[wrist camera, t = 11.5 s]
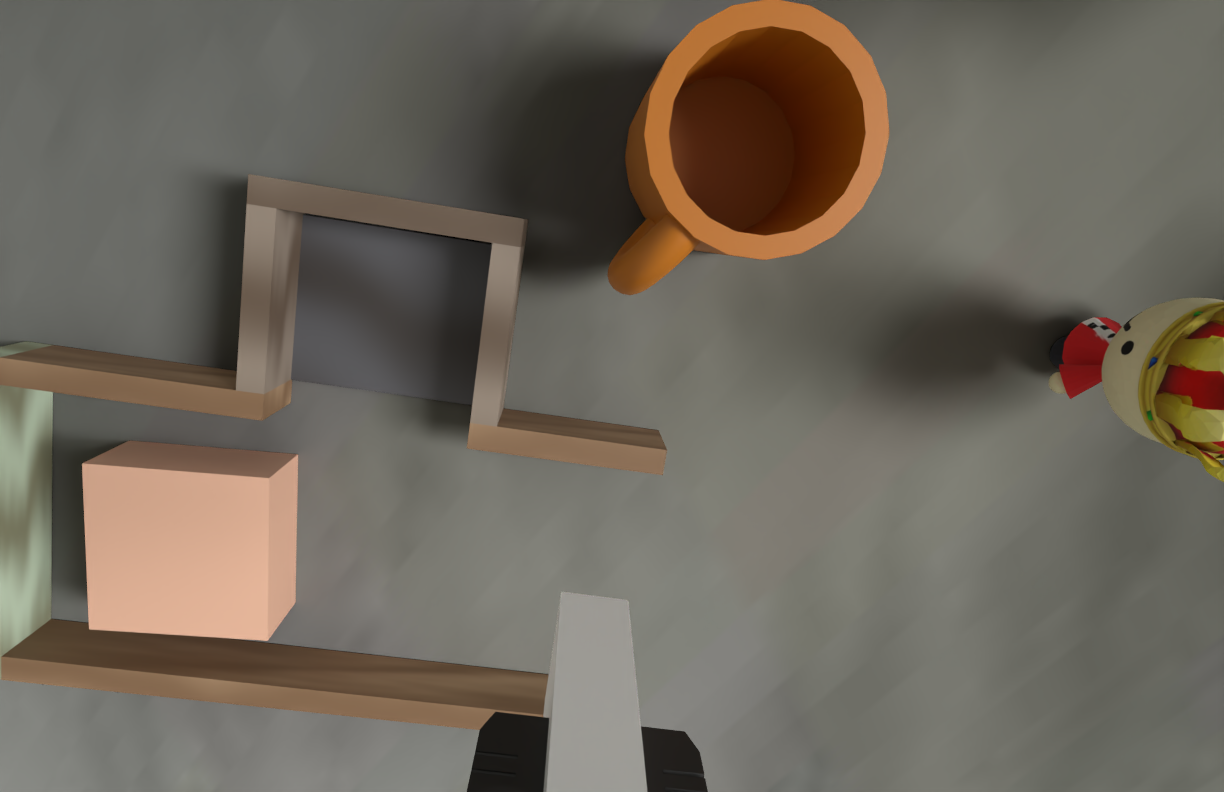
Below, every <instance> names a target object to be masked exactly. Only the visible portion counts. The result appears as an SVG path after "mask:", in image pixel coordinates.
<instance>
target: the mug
mask: <svg viewBox="0 0 1224 792" xmlns="http://www.w3.org/2000/svg"><path fill="white" fill-rule="evenodd" d="M888 138H889V123H888V111H887V100H886V92H885V89H884V87H883V85H882V82H881V80H880V77H879V75H878V72H877V70H876V67H875V65H874V63H873V60H872V58H871V56H870V54H869V53H868V52H867V51H866V50H865V49H864V47H863V46H862V45H861V44H860V43H859V42H858V40H857V39H856V38H855V37H854V36H853V35H852V33H851V32H850V31H849V30H848V29H847V28H846V26H845V25H843V24H841V23H840V22H838V21H836V20H834V19H833V18H831V17H829V16H827V15H826V14H824V13H822V12H821V11H819V10H817V9H815V8H814V7H812V6H809V5H803V4H798V3H792V2H787V1H781V0H762V1H756V2H750V3H744V4H738V5H732V6H730V7H729V8H727V9H725V10H723V11H721V12H720V13H718V14H716V15H714V16H712V17H710V18H709V19H707V20H705V21H703V22H701V23H699V24H698V25H696V26H695V27H694V28H693V29H692V31H691V32H690V33H689V34H688V35H687V36H686V37H685V38H684V39H683V40H682V41H681V42H680V43H679V44H678V46H677V47H676V48H675V49H674V50H673V51H672V52H671V53H670V54H669V55H668V57H667V58H666V60H665V62H664V64H663V65H662V67H661V69H660V70H659V72H658V74H657V76H656V77H655V79H654V81H653V82H652V84H651V86H650V88H649V89H648V91H647V93H646V94H645V96H644V98H643V100H642V102H641V104H640V106H639V108H638V110H637V112H636V114H635V116H634V118H633V121H632V123H631V125H630V127H629V132H628V139H627V146H626V153H625V163H626V169H627V175H628V182H629V188H630V190H631V192H632V194H633V196H634V198H635V200H636V202H637V204H638V206H639V208H640V210H641V212H642V214H643V216H644V217H645V218H646V220H645V221H644V222H643V223H642V224H641V225H640V227H639V228H638V229H637V230H636V231H635V232H634V233H633V234H632V235H631V236H630V238H629V239H628V240H627V241H626V242H625V243H624V245H623V246H622V247H621V248H620V250H619V251H618V252H617V254H616V255H615V257H614V258H613V260H612V261H611V263H610V265H609V269H608V279H609V283H610V284H611V286H612V287H613V288H614V289H615V290H617V291H618V292H620V293H622V294H627V295H633V294H637V293H640V292H642V291H644V290H646V289H647V288H649V287H650V286H652V285H653V284H655V283H656V282H657V281H659V280H660V279H661V278H662V277H664V276H665V275H666V274H667V273H669V272H670V271H671V270H672V269H673V268H674V267H675V266H677V265H678V264H679V263H680V262H681V261H682V260H683V259H684V258H685V257H686V256H687V255H688V254H689V253H690V252H691V251H692V250H696V251H703V252H709V253H716V254H723V255H731V256H738V257H746V258H754V259H761V260H767V259H772V258H778V257H784V256H789V255H795V254H801V253H803V252H805V251H807V250H808V249H810V248H812V247H814V246H816V245H818V244H820V243H822V242H824V241H825V240H827V239H829V238H831V237H833V236H835V235H836V234H837V233H838V232H839V231H840V230H841V229H842V228H843V227H844V226H845V225H846V224H847V223H848V222H849V221H850V220H851V219H852V218H853V217H854V216H855V215H856V214H857V213H858V212H859V211H860V210H861V209H862V208H863V206H864V204H865V202H866V200H867V198H868V196H869V195H870V193H871V191H872V189H873V187H874V185H875V183H876V182H877V180H878V178H879V176H880V174H881V171H882V166H883V162H884V157H885V152H886V147H887V142H888Z"/></svg>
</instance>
